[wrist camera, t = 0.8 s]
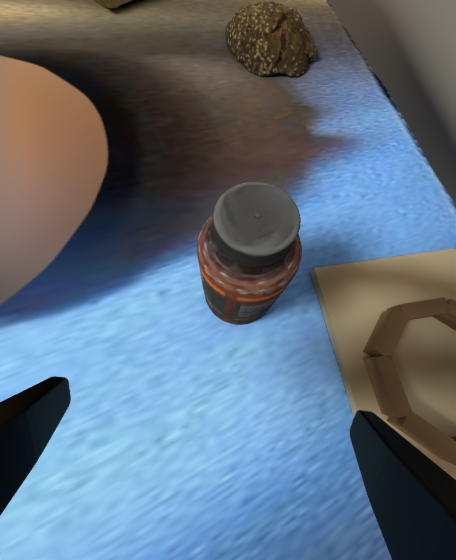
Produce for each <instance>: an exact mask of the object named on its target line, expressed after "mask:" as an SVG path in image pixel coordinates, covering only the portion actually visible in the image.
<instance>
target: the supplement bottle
mask: <svg viewBox="0 0 456 560" xmlns="http://www.w3.org/2000/svg"><path fill="white" fill-rule="evenodd" d="M300 222H301V221H300V214H299V210H298V208H297V206H296V204H295V202H294V201H293V200H292V199H291V197H290V196H289V195H288V194H286V193H285V192H284V191H283V190H281V189H279V188H277V187H276V186H273V185H270V184H266V183H261V182H247V183H242V184H239V185H237V186H234V187H232V188H231V189H228V190H227V191H226V192H225V193H224V194H223V195H222V196H221V197H220V198H219V199H218V202H217V203H216V206H215V208H214V214H213V215H212V216H211V217H210V218H209V219H208V220H207V221H206V223H205V224H204V226H203V228H202V230H201V232H200V234H199V238H198V245H197V255H198V262H199V267H200V273H201V279H202V284H203V289H204V294H205V299H206V302H207V304H208V306H209V308H210V309H211V311H212V312H213V313H214V314H215V315H216V316H217V317H218V318H220V319H221V320H223V321H225V322H228V323H231V324H236V325H242V324H248V323H251V322H254V321H256V320H258V319H259V318H260V317H262V316H263V315H264V314H265V313H266V312H267V311H268V309H269V308H270V307H271V306H272V304H273V303H274V302H275V301H276V299H277V298H278V297H279V296H280V294H281V293H282V292H283V291H284V289H286V287H287V286H288V284H289V283H290V281H291V280H292V279H293V277H294V276H295V274H296V272H297V270H298V268H299V265H300V261H301V255H302V247H301V241H300V237H299V234H298V232H299V229H300Z"/></svg>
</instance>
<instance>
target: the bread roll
mask: <svg viewBox="0 0 456 560" xmlns="http://www.w3.org/2000/svg"><path fill="white" fill-rule="evenodd" d="M225 37H226V42H227V47H228V48H229V50H230V51H231V53H232V54H233V57H234V59H235V60H236V61H238V62H240V63H242V65H243V66H244V67H245V68H246V69H248V71H249V72H250V73H252V74H255V75H257V76H260V77H263V76H269V75H275V74H278V73H280V74H286V75H288V76H289V77H300V76H302V75H303V74H304V73H305V72H306V70H307V67H308V65H307V64H308V63H311V62H312V61H313V60H314V59H315V54H316V53H317V49H315V45H314V42H313V41H312V38H311V37H310V36H309V32H308V31H307V30H306V28H305V26H304V24H303V22H302V17H301V15H300V14H299V13H298V12H297V9H296V8H292V7H290V8H288V7H285V6H283V5H281V4H280V5H279V4H275V3H274V2H270V3H269V2H265V1H261V2H258V3H257V4H255V3H254V4H250V5H249V6H246V7H245V8H244V7H240V8H239V12H238V13H235V14H234V16H233V17H232V18H231V19H230V20H229V23H228V25H227V27H226V32H225Z"/></svg>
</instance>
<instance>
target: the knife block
mask: <svg viewBox="0 0 456 560" xmlns="http://www.w3.org/2000/svg"><path fill="white" fill-rule="evenodd" d="M96 1H97V2H99V3H100V4H102V5H103V6H105V7H107V8H117V7H119V5H122V4H125V3H127V2H130V1H132V0H96Z"/></svg>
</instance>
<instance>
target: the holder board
mask: <svg viewBox="0 0 456 560" xmlns="http://www.w3.org/2000/svg"><path fill="white" fill-rule="evenodd" d="M310 273H311V277H312V280H313V283H314V286H315V290H316V293H317V296H318V300H319V303H320V306H321V310H322V313H323V316H324V320H325V323H326V326H327V330H328V333H329V336H330V339H331V343H332V346H333V349H334V353H335V356H336V359H337V363H338V366H339V369H340V373H341V376H342V379H343V382H344V386H345V389H346V392H347V396H348V399H349V402H350V406H351V409H352V412H353V416H354V417H355V414H356V412H357V411H358V410H365V411H371V412H373V413H375V414H376V415H377V416H378V417H380V418H381V419H382V420H383V421H384V422H386V423H387V424H388V425H389V426H391V427H392V428H393V429H394V430H395V431H397V432H398V433H399V434H400V435H402V436H403V437H404V438H405V439H406V440H408V441H409V442H410V443H411V444H413V445H414V446H415V447H416V448H417V449H419V450H420V451H421V452H422V453H423V454H425V455H426V456H427V457H428V458H430V459H431V460H432V461H433V462H434V463H436V464H437V465H438V466H439V467H441V468H442V469H443V470H444V471H445V472H447V473H448V474H449V475H450V476H452V477H453V478H454V479H455V480H456V250H455V248H453V249H445V250H438V251H431V252H423V253H416V254H409V255H401V256H394V257H387V258H379V259H372V260H365V261H358V262H350V263H343V264H336V265H328V266H321V267H314V268H313V269H312V270H311V271H310Z"/></svg>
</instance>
